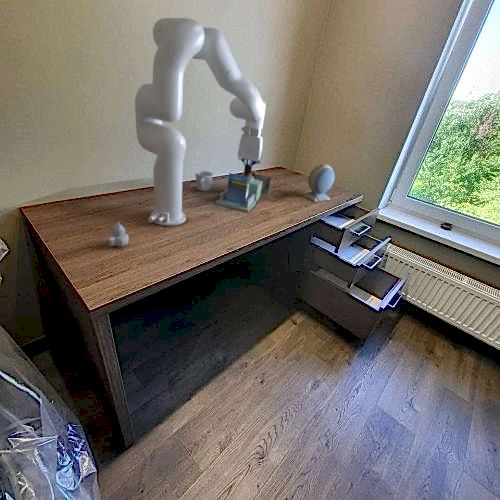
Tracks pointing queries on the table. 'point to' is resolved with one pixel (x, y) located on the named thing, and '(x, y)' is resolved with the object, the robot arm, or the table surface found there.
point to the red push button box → (253, 187)
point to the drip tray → (235, 205)
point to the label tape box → (237, 188)
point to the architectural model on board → (266, 182)
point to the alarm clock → (320, 182)
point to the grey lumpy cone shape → (118, 236)
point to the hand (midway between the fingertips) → (247, 174)
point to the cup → (203, 180)
